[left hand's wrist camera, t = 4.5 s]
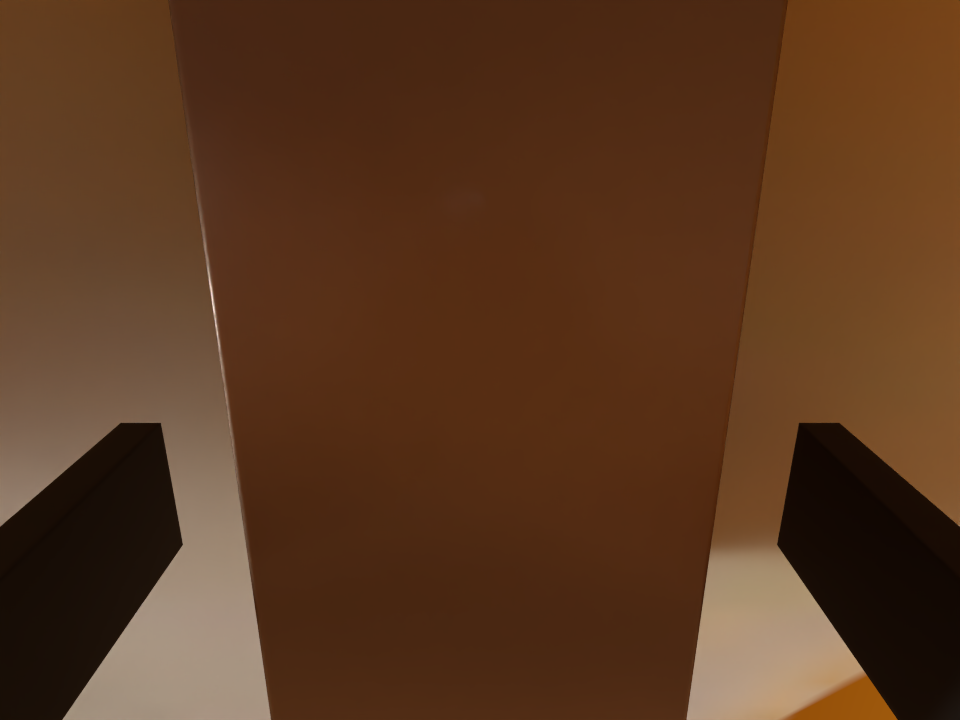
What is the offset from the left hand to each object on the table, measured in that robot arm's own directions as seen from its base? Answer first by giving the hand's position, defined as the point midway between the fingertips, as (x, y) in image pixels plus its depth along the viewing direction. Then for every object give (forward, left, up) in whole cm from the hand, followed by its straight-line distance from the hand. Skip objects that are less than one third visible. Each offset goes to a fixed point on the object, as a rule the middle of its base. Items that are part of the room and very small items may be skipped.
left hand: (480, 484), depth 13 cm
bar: (+11, +7, -2) cm, 13 cm away
